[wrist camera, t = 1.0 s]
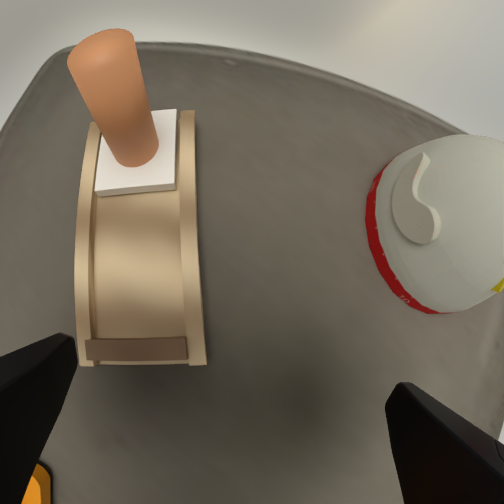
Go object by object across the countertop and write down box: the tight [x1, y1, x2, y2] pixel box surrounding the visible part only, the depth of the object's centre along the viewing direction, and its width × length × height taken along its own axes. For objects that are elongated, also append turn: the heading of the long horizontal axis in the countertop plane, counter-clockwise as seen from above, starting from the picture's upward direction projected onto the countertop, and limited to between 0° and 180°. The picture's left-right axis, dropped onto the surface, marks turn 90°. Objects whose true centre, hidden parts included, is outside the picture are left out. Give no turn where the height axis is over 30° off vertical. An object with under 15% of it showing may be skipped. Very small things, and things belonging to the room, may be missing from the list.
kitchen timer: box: [365, 135, 504, 314], centre depth 16 cm, size 14×14×15 cm
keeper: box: [67, 29, 177, 197], centre depth 15 cm, size 6×5×10 cm
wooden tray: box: [75, 110, 207, 366], centre depth 18 cm, size 17×8×3 cm, turn 5°
